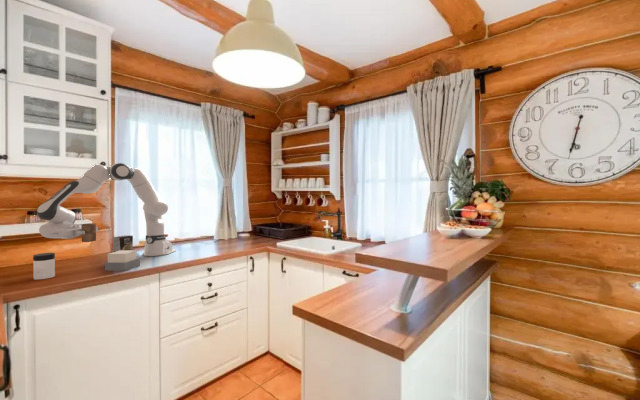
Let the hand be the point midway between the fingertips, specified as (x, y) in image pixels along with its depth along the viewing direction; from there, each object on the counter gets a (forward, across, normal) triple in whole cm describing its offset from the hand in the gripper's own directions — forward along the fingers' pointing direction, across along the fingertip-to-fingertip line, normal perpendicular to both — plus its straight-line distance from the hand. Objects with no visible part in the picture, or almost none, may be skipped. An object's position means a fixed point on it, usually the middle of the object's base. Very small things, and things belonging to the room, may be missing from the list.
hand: (90, 231), depth 161 cm
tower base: (+15, +6, +22) cm, 28 cm away
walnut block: (-1, 0, +6) cm, 6 cm away
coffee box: (+1, +22, +22) cm, 31 cm away
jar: (-10, -16, +22) cm, 29 cm away
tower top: (+15, +6, +17) cm, 24 cm away
